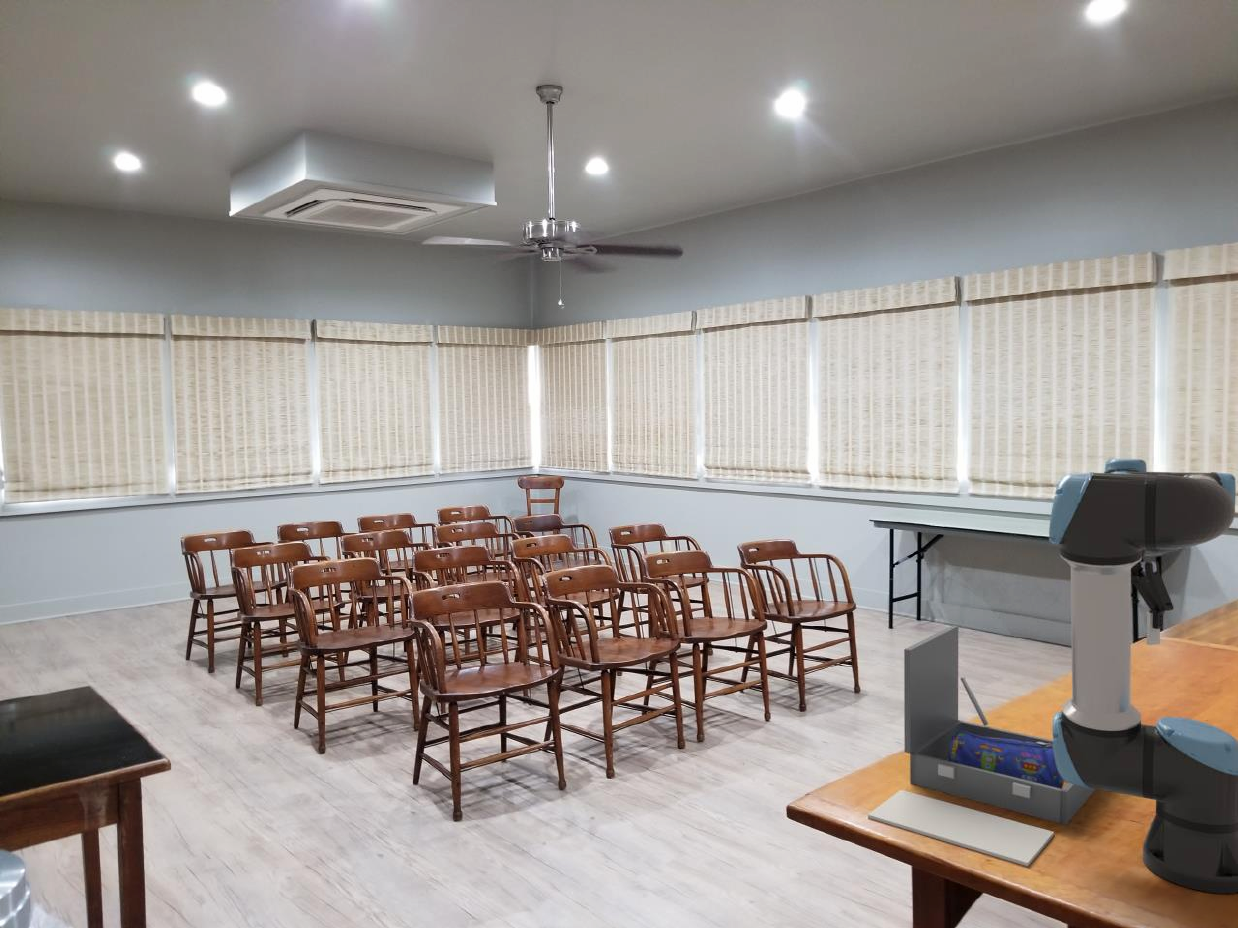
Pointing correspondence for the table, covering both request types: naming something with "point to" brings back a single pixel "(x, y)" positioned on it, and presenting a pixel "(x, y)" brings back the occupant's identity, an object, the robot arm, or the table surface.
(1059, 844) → the table surface
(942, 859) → the table surface
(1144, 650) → the table surface
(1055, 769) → the pencil case
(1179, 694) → the table surface
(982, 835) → the grey mat
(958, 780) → the case
